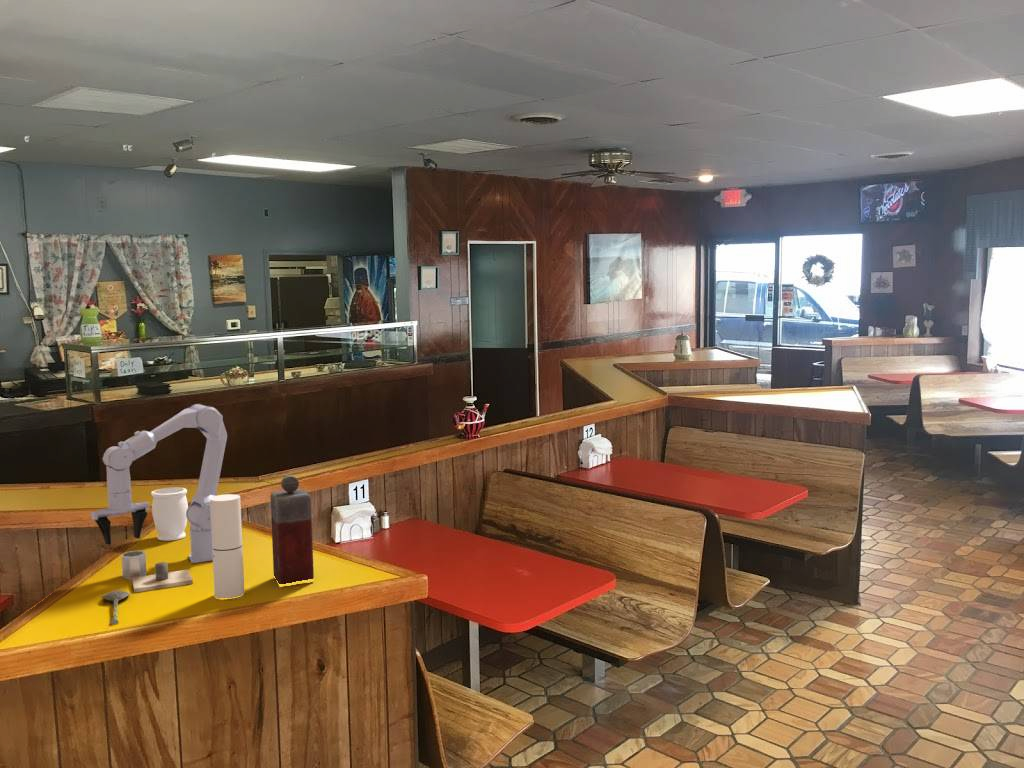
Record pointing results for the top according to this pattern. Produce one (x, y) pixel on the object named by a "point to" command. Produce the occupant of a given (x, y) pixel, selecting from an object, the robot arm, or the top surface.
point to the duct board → (161, 584)
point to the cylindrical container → (227, 546)
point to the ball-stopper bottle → (291, 533)
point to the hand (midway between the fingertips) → (122, 540)
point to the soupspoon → (115, 601)
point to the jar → (170, 513)
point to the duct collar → (133, 564)
